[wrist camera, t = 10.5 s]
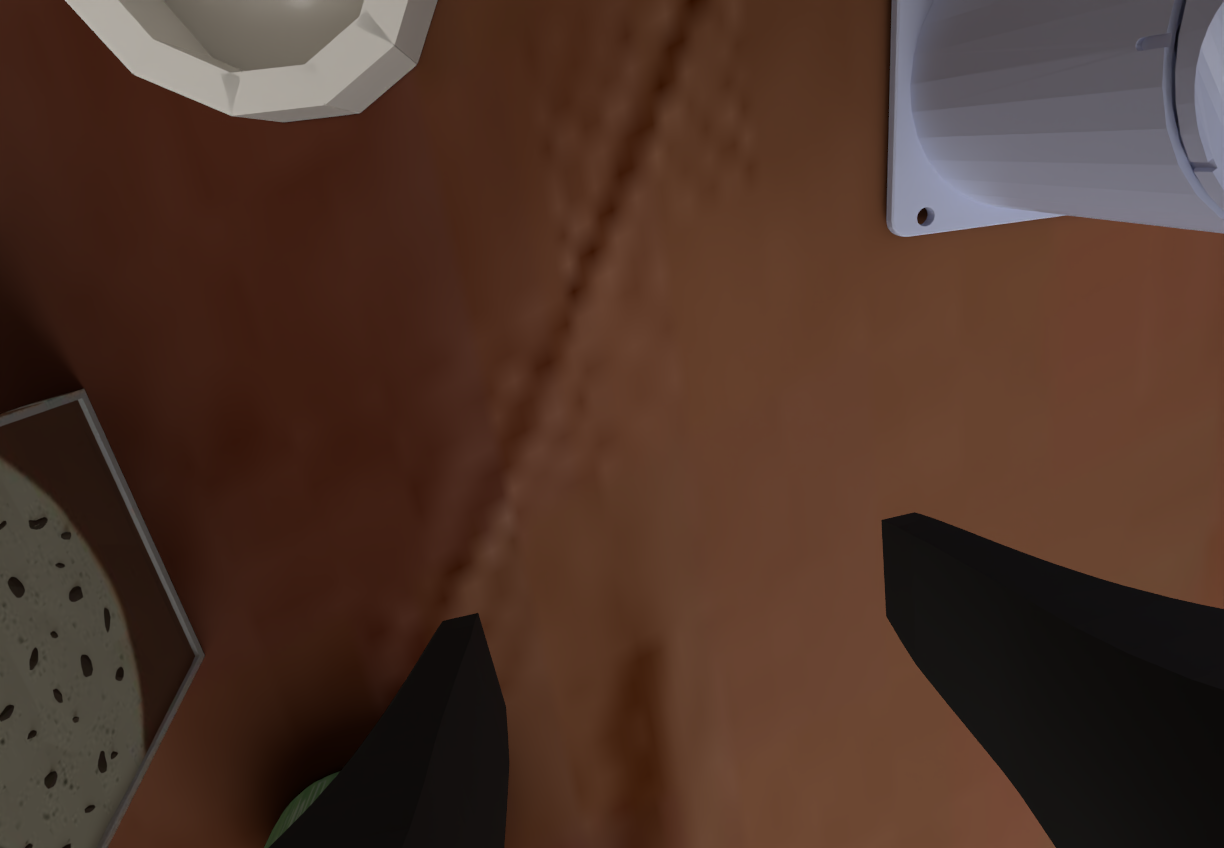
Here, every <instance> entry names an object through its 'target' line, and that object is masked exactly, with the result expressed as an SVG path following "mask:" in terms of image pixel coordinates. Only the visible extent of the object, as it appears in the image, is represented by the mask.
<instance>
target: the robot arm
mask: <svg viewBox="0 0 1224 848" xmlns="http://www.w3.org/2000/svg"><path fill="white" fill-rule="evenodd" d="M923 208H925V209H926V210H927V214H928V215H927V219H926V220H925V221H924V223H922V224H919V223H918V221H917V216H918V213H919V212H920V210H921V209H923ZM1065 215H1070V216H1078V217H1087V218H1096V219H1104V220H1113V221H1121V222H1130V223H1139V224H1147V225H1156V226H1165V227H1173V228H1182V229H1190V230H1199V231H1208V232H1216V233H1224V0H892V10H891V52H890V93H889V134H888V175H887V217H886V221H887V227H888V228H889V230H890V231H891V232H892V233H893V234H895V235H898V236H904V237H910V236H917V235H924V234H932V233H939V232H947V231H954V230H961V229H969V228H976V227H983V226H991V225H998V224H1006V223H1013V222H1020V221H1028V220H1035V219H1042V218H1050V217H1057V216H1065ZM882 539H883V559H884V579H885V599H886V616H887V618H888V620H889V621H890V623H891V625H892V626H893V628H894V630H895V631H896V633H897V635H898V637H899V638H900V640H901V642H902V643H903V645H904V646H905V648H906V650H907V651H908V653H909V654H910V656H911V657H912V659H913V661H914V662H915V664H916V665H917V666H918V668H919V669H920V670H921V671H922V673H923V674H924V675H925V676H926V678H927V679H928V680H929V681H930V683H931V684H932V685H933V686H934V688H935V689H936V690H937V691H938V693H939V694H940V695H941V696H942V698H943V699H944V700H945V701H946V702H947V704H948V705H949V706H950V707H951V709H952V710H953V711H954V712H955V713H956V715H957V716H958V717H959V718H960V720H961V721H962V722H963V723H964V724H965V726H966V727H967V728H968V729H969V730H970V732H971V733H972V734H973V735H974V737H975V738H976V739H977V740H978V741H979V743H980V744H981V745H982V746H983V748H984V749H985V750H986V751H987V752H988V754H989V755H990V756H991V757H992V759H993V760H994V761H995V762H996V763H997V765H998V766H999V767H1000V768H1001V770H1002V771H1003V772H1004V773H1005V775H1006V776H1007V777H1008V779H1009V780H1010V781H1011V783H1012V784H1013V785H1014V787H1015V788H1016V789H1017V791H1018V792H1019V793H1020V795H1021V796H1022V798H1023V799H1024V801H1025V802H1026V804H1027V805H1028V807H1029V808H1030V810H1031V811H1032V813H1033V814H1034V816H1035V817H1036V818H1037V820H1038V821H1039V823H1040V824H1041V826H1042V827H1043V829H1044V830H1045V832H1046V833H1047V835H1048V836H1049V838H1050V839H1051V841H1052V842H1053V844H1054V845H1055V847H1056V848H1224V609H1220V608H1215V607H1210V606H1205V605H1200V604H1196V603H1191V602H1187V601H1182V600H1178V599H1173V598H1169V597H1165V596H1162V595H1158V594H1154V593H1150V592H1146V591H1142V590H1138V589H1135V588H1131V587H1127V586H1123V585H1120V584H1116V583H1113V582H1109V581H1106V580H1102V579H1099V578H1096V577H1093V576H1090V575H1087V574H1084V573H1081V572H1077V571H1074V570H1071V569H1068V568H1065V567H1062V566H1059V565H1056V564H1053V563H1050V562H1048V561H1045V560H1042V559H1039V558H1036V557H1034V556H1031V555H1028V554H1025V553H1023V552H1020V551H1017V550H1015V549H1012V548H1009V547H1007V546H1004V545H1001V544H999V543H996V542H994V541H991V540H988V539H986V538H983V537H981V536H978V535H976V534H973V533H971V532H968V531H965V530H963V529H960V528H958V527H955V526H952V525H950V524H947V523H945V522H942V521H939V520H936V519H934V518H931V517H928V516H925V515H921V514H918V513H915V512H914V513H910V514H906V515H901V516H897V517H893V518H888V519H884V520H882ZM508 777H509V748H508V731H507V716H506V705H505V702H504V699H503V695H502V692H501V689H500V685H499V682H498V678H497V675H496V672H495V668H494V665H493V662H492V658H491V655H490V652H489V648H488V645H487V641H486V638H485V635H484V631H483V628H482V625H481V621H480V618H479V614H478V613H476V614H472V615H467V616H463V617H459V618H454V619H450V620H446V621H443V622H442V623H441V625H440V626H439V627H438V629H437V631H436V632H435V634H434V635H433V637H432V639H431V640H430V642H429V643H428V645H427V647H426V648H425V650H424V652H423V653H422V655H421V657H420V658H419V660H418V662H417V663H416V665H415V666H414V668H413V670H412V671H411V673H410V674H409V676H408V678H407V679H406V681H405V682H404V684H403V685H402V687H401V688H400V690H399V691H398V693H397V694H396V696H395V697H394V699H393V701H392V702H391V704H390V705H389V707H388V708H387V710H386V711H385V713H384V714H383V715H382V717H381V718H380V720H379V721H378V722H377V724H376V725H375V727H374V728H373V729H372V731H371V732H370V733H369V735H368V736H367V737H366V739H365V740H364V742H363V743H362V744H361V746H360V747H359V748H358V750H357V751H356V752H355V754H354V755H353V756H352V757H351V759H350V760H349V761H348V762H347V764H346V765H345V766H344V767H343V769H342V770H341V771H340V772H339V773H338V775H337V776H336V777H335V778H334V779H333V780H332V781H331V783H330V784H329V785H328V786H327V787H326V788H325V789H324V791H323V792H322V793H321V794H320V795H319V796H318V797H317V799H316V800H315V801H314V802H313V803H312V804H311V805H310V806H309V807H308V808H307V809H306V811H305V812H304V813H303V814H302V815H301V816H300V817H299V818H298V819H297V820H296V821H295V822H294V823H293V824H292V825H291V826H290V827H289V828H288V829H287V830H286V831H285V832H284V833H283V834H282V835H281V836H280V837H279V838H278V839H277V840H276V841H275V842H274V843H273V844H272V845H271V846H270V847H269V848H504V842H505V827H506V811H507V795H508Z"/></svg>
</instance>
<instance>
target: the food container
mask: <svg viewBox="0 0 1224 848" xmlns="http://www.w3.org/2000/svg"><path fill="white" fill-rule="evenodd" d="M204 657H205V655H204V653H203V650H202V648H201V646H200V644H199V642H198V639H197V637H196V635H195V633H194V631H193V628H192V626H191V624H190V622H189V620H188V617H187V615H186V613H185V611H184V608H183V606H182V604H181V602H180V600H179V597H178V595H177V593H176V591H175V589H174V586H173V584H172V582H171V580H170V578H169V575H168V573H167V571H166V569H165V566H164V564H163V562H162V560H161V558H160V555H159V553H158V551H157V549H156V547H155V544H154V542H153V540H152V538H151V536H150V533H149V531H148V529H147V527H146V524H145V522H144V520H143V518H142V516H141V513H140V511H139V509H138V507H137V505H136V502H135V500H134V498H133V496H132V494H131V491H130V489H129V487H128V485H127V483H126V480H125V478H124V476H123V474H122V471H121V469H120V467H119V465H118V463H117V460H116V458H115V456H114V454H113V452H112V449H111V447H110V445H109V443H108V441H107V438H106V436H105V434H104V432H103V429H102V427H101V425H100V423H99V421H98V418H97V416H96V414H95V412H94V410H93V407H92V405H91V403H90V401H89V399H88V396H87V394H86V392H85V390H84V389H80V390H77V391H73V392H69V393H65V394H62V395H58V396H54V397H51V398H47V399H43V400H40V401H37V402H34V403H31V404H28V405H26V406H23V407H20V408H17V409H14V410H11V411H8V412H5V413H2V414H0V848H108V846H109V844H110V842H111V840H112V838H113V836H114V834H115V832H116V830H117V828H118V826H119V824H120V822H121V820H122V818H123V816H124V814H125V812H126V810H127V808H128V806H129V804H130V803H131V801H132V799H133V797H134V795H135V793H136V791H137V789H138V787H139V785H140V783H141V781H142V779H143V777H144V775H145V773H146V771H147V769H148V767H149V765H150V763H151V761H152V759H153V757H154V755H155V753H156V751H157V749H158V747H159V745H160V743H161V741H162V740H163V738H164V736H165V734H166V732H167V730H168V728H169V726H170V724H171V722H172V720H173V718H174V716H175V714H176V712H177V710H178V708H179V706H180V704H181V702H182V700H183V698H184V696H185V694H186V692H187V690H188V688H189V686H190V684H191V682H192V680H193V679H194V677H195V675H196V673H197V671H198V669H199V667H200V665H201V663H202V661H203V659H204Z"/></svg>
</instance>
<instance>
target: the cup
mask: <svg viewBox="0 0 1224 848" xmlns="http://www.w3.org/2000/svg"><path fill="white" fill-rule="evenodd" d="M65 1H66V2H67V3H68V4H69V5H70V6H71V7H72V8H73V9H74V11H75V12H76V13H77V14H78V15H79V16H80V17H81V18H82V19H83V20H84V21H85V23H86V24H87V25H88V26H89V27H90V28H91V29H92V30H93V31H94V32H95V33H96V35H97V36H98V37H99V38H100V39H101V40H102V41H103V42H104V43H105V44H106V45H107V46H108V48H109V49H110V50H111V51H112V52H113V53H114V54H115V55H116V56H117V57H118V58H119V60H120V61H121V62H122V63H123V64H124V65H125V66H126V67H127V68H128V69H129V70H130V72H131V73H132V74H134V75H136V76H138V77H140V78H143V79H145V80H148V81H150V82H152V83H155V84H157V85H159V86H162V87H164V88H167V89H169V90H171V91H174V92H176V93H178V94H181V95H183V96H185V97H188V98H190V99H193V100H195V101H197V102H200V103H202V104H204V105H207V106H209V107H212V108H214V109H216V110H219V111H221V112H223V113H226V114H228V115H231V116H237V117H245V118H253V119H261V120H269V121H277V122H291V121H299V120H308V119H316V118H325V117H333V116H342V115H351V114H359V113H361V112H362V111H363V110H364V109H366V108H367V107H368V106H369V105H370V104H371V103H373V102H374V101H375V100H376V99H377V98H379V97H380V96H381V95H382V94H383V93H384V92H386V91H387V90H388V89H389V88H390V87H391V86H393V85H394V84H395V83H396V82H397V81H398V80H400V79H401V78H402V77H403V76H404V75H405V74H407V73H408V72H409V71H410V70H411V69H413V68H414V67H415V66H416V65H417V64H418V61H419V58H420V54H421V51H422V48H423V45H424V42H425V39H426V35H427V32H428V29H429V26H430V23H431V19H432V16H433V13H434V10H435V7H436V4H437V0H65ZM416 63H417V64H416Z"/></svg>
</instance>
